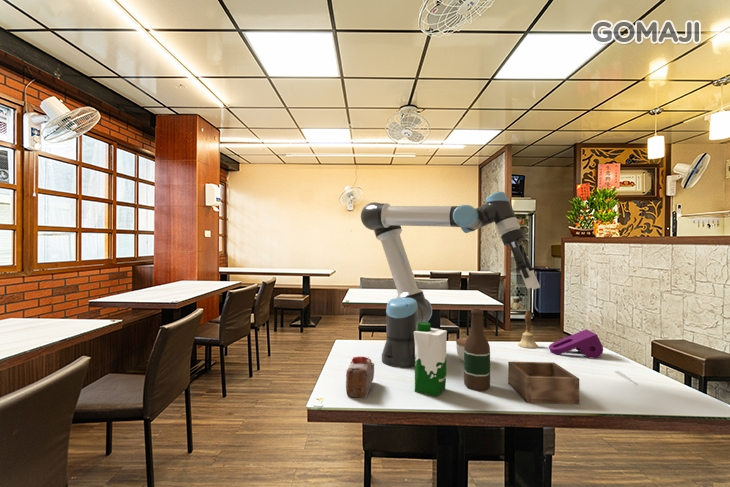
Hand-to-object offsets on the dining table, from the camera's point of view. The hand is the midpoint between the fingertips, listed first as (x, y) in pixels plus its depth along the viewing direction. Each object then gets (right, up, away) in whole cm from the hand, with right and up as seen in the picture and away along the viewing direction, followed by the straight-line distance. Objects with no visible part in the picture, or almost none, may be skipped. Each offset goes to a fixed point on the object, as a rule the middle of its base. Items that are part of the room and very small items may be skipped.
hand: (534, 288), depth 124 cm
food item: (-60, -29, -14) cm, 68 cm away
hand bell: (+15, -31, +37) cm, 50 cm away
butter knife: (+29, -30, -10) cm, 43 cm away
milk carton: (-39, -29, -15) cm, 51 cm away
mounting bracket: (+28, -31, +25) cm, 49 cm away
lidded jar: (-18, -30, +14) cm, 37 cm away
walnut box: (-6, -29, -17) cm, 34 cm away
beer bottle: (-23, -29, -12) cm, 39 cm away
